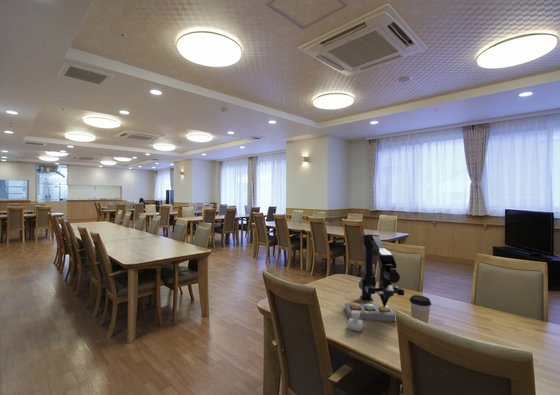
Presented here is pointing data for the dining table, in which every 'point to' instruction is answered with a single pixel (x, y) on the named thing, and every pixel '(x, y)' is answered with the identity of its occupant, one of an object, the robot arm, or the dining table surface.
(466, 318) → the dining table surface
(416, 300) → the coffee cup
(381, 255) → the robot arm
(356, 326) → the stamp
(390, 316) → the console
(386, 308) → the button mustard
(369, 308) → the button sage
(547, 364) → the dining table surface
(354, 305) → the button terracotta
